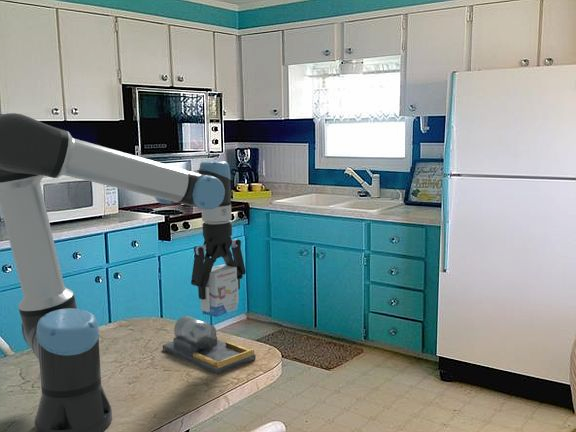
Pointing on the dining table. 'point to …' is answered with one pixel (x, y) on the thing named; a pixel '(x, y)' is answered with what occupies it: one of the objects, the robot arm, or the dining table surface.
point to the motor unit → (206, 347)
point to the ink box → (222, 290)
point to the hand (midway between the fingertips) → (220, 306)
